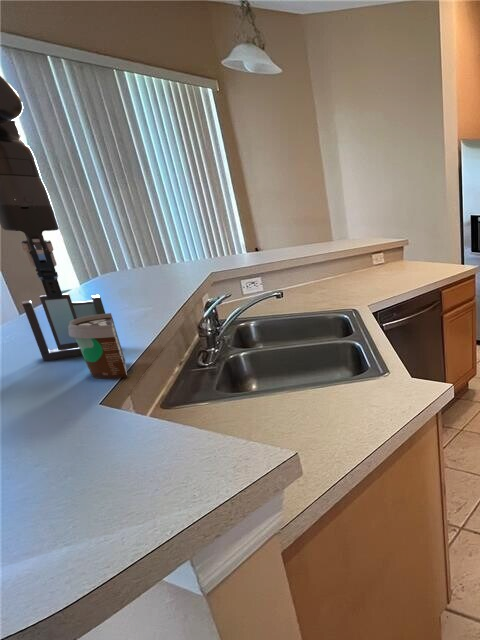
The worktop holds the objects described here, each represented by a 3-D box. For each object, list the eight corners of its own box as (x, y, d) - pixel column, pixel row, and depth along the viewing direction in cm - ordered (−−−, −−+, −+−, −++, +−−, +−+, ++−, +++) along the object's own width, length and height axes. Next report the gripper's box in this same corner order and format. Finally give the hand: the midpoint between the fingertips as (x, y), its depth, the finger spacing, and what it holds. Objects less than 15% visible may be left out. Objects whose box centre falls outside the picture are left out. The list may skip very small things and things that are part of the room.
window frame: (43, 361, 88) (22, 303, 84) (42, 357, 90) (21, 301, 85) (116, 350, 95) (100, 297, 91) (114, 347, 97) (98, 295, 93)
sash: (58, 350, 89) (30, 272, 83) (58, 349, 90) (30, 272, 84) (86, 346, 92) (61, 271, 86) (86, 345, 93) (61, 270, 87)
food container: (84, 367, 85) (67, 316, 82) (125, 361, 89) (110, 312, 85) (81, 386, 77) (61, 330, 73) (127, 379, 80) (110, 325, 77)
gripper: (-7, 201, 83) (27, 294, 89) (-9, 202, 74) (29, 305, 80) (49, 203, 88) (77, 291, 94) (53, 204, 79) (84, 300, 85)
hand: (55, 297), depth 87 cm, fingers closed
